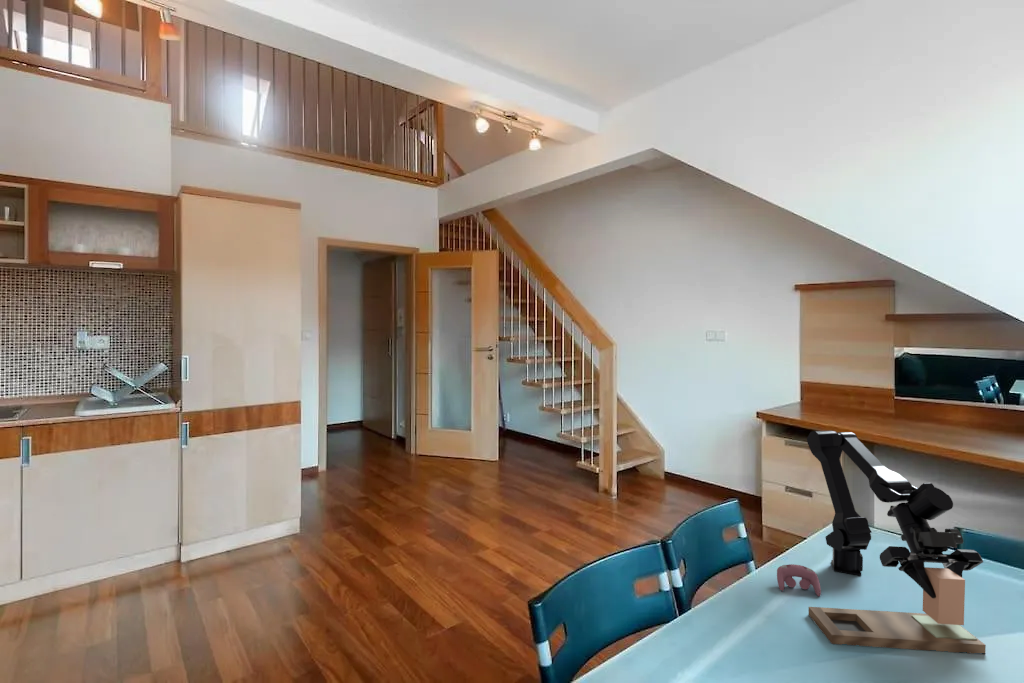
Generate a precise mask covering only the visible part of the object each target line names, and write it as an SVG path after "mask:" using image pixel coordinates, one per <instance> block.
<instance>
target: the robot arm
mask: <svg viewBox="0 0 1024 683" xmlns="http://www.w3.org/2000/svg"><path fill="white" fill-rule="evenodd" d="M806 443H807V445H808V447H809V451H810V452H811V454H812V455H813V456H814V458H816V460H817V461H818V462H820V465H821V469H822V472H823V476H824V478H825V481H826V485H827V489H828V493H829V496H830V500H831V502H832V507H833V511H834V516H833V520H832V522H831V526H832V531H831V532H830V533H828V534H827V535H826V536H825V537H824V538H825V542H826V545H827V546H828V547H830V548H832V559H831V566H832V569H833V571H835V572H839V573H845V574H849V575H850V574H851V575H854V576H862V572H863V571H864V570H863V568H864V567H863V566H864V564H863V563H864V560H863V559H864V556H863V554H862V552H861V550H864V551H865V550H867V548H868V547H869V544H870V541H871V540H872V533H873V532H872V530H871V528H870V526H869V522H868V521H869V520H868V519H867V517H866V516H861V514H859V513H858V512H857V510H856V508H855V504H854V502H853V498H852V495H851V492H850V489H849V485H848V483H847V479H846V476H845V473H844V470H843V466H842V462H841V456H842V453H843V452H844V454H846V455H847V457H848V458H849V459H850V460H851V462H853V463H854V464H855V466H856V467H857V468H858V469H859V470H860V471H861V472H862V473H863V474H864V475H865V477H867V479H868V483H869V488H870V489H871V491H872V492H873V493H874V495H875V496H876V498H877V499H878V500H879V501H881V503H889V504H890V503H898V504H896V505H890V507H889V510H887V513H886V515H887V517H891V518H895V519H896V522H897V524H898V526H899V528H900V531H901V532H902V534H901V536H900V540H901V541H903V542H905V543H906V545H907V546H908V548H907V547H906V546H895V545H893V546H892V545H891V546H888V547H886V548H885V549H884V550H882V552H881V553H879V561H880V563H881V565H882V567H883V568H885V567H886V568H896V567H897V568H898V570H899V571H900V572H904V574H906V575H907V576H908V577H909V578H910V579H912V581H914V582H915V583H916V584H917V585H918V586H919V587H920V588H921V589H922V591H923V590H924V591H925V592H926V593H927V594H928V595H929V596H930V597H931V598H936V594H935V591H934V589H933V587H932V584H931V582H930V580H929V578H928V576H927V574H926V572H925V568H924V567H925V563H934V564H942V566H943V568H948V569H950V570H951V571H953V572H954V573H956V574H957V575H959V576H960V577H962V578H963V571H971V570H973V569H974V568H977V567H978V566H980V565H981V564H983V563H984V560H983V558H982V556H981V554H980V553H979V552H977V551H976V550H975V549H960V548H959V549H958V548H957V547H958V545H963V544H964V538H963V536H962V533H961V532H960V530H959V529H958V528H945V529H944V531H938V530H937V529H936V528H935V527H931V526H930V524H929V522H928V521H933V520H935V519H936V518H939V517H940V516H942V515H943V514H945V513H947V512H948V511H950V510H952V509H953V507H954V502H953V500H952V498H951V496H950V495H949V494H947V493H946V492H945V491H943V490H942V489H940V488H938V487H936V486H935V485H934V484H933V483H932V482H923V483H922V484H920V485H919V487H916V486H914V485H913V484H912V483H911V482H910V481H909V480H907V478H905V477H903V476H902V475H901V474H900V473H899V472H896V471H893V470H891V469H889V468H887V467H886V466H885V465H884V464H883V463H882V462H881V461H880V460H879V459H878V458H877V457H876V456H875V455H874V454H873V453H872V452H871V451H870V449H868V448H867V447H866V446H865V445H864V443H863V442H861V441H860V440H859V438H858V436H857V435H856V433H854V432H852V431H841V432H840V431H838V432H837V431H835V430H812V431H810V433H809V434H808V436H807V437H806ZM949 548H953V549H955V550H954V551H952V552H951V553H949V554H946V553H944V552H947V551H948V550H949ZM899 564H900V566H899ZM898 566H899V567H898Z"/></svg>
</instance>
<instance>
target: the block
mask: <svg viewBox="0 0 1024 683" xmlns="http://www.w3.org/2000/svg"><path fill="white" fill-rule="evenodd" d="M924 568H925V572H926V574H927V576H928V578H929V580H930V582H931V584H932V587H933V589H934V591H935V594H936V598H931V597H930V596H929V595H928V594H927V593H926V592H925V591H924V590H923V589H922V611H923V612H924V614H927V615H928V616H930V617H931V618H932V619H933V620H935V621H936V622H937V623H938V624H951V625H961V626H964V625H965V598H966V596H965V595H966V594H965V593H966V579H965V578H963V576H962V577H960V576H959V575H957V574H956V573H954V572H953V571H951V570H950V569H948V568H944V567H930V566H929V567H925V566H924Z"/></svg>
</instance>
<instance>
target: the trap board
mask: <svg viewBox="0 0 1024 683" xmlns="http://www.w3.org/2000/svg"><path fill="white" fill-rule="evenodd" d="M808 616H809V617H810V619H811V620H812V621H813V622H814V623H815V625H816V626H817V628H818V629H819V630H820V631H821V632H822V634H824V636H825V637H826V639H827V640H828V641H829V642H830V644H832V645H842V644H847V645H846V646H856V645H859V646H861V647H871V646H872V647H873V648H888V649H889V648H890V649H900V650H901V649H902V650H903V649H905V650H918V651H930V650H936V651H935V652H944V651H948V652H947V653H959V652H967V653H966V654H974V653H985V654H986V644H985V643H983V642H982V640H980V639H978V638H977V636H975V635H974V634H972V632H970V631H969V630H967V629H966V628H965V627H964V626H963V625H951V624H938V623H937V622H936V621H935V620H933V619H932V618H931V617H930V616H928V615H927V614H926V613H921V612H906V611H905V612H903V611H901V612H900V611H885V610H870V609H857V608H856V609H854V608H853V609H852V608H839V607H837V608H836V607H821V606H808ZM859 646H858V647H859Z"/></svg>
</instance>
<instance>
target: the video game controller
mask: <svg viewBox="0 0 1024 683" xmlns="http://www.w3.org/2000/svg"><path fill="white" fill-rule="evenodd" d="M795 577H796V578H801V579H800V580H799V582H798V583H799V584H798V585H799V587H800V588H801V589H803V590H808V589H810V587H811V586H812V588H813V590H814V592H815V595H816V596H817V597H821V595H822V589H821V584H820V579H819V577H818V574H817V573H816V571H814V570H813V569H812V568H809V567H807V566H804V565H801V564H795V563H794V564H793V563H791V564H783V565H780V566H779V567H777V570H776V580H777V585H778V589H779V590H780V591H781V590H782V591H781V592H784V591H783V590H784V589H785V587H786V585H788V586H789V587H788V586H787V587H788V588H795V587H796V586H797V582H796V580H795V579H794V578H795Z"/></svg>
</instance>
